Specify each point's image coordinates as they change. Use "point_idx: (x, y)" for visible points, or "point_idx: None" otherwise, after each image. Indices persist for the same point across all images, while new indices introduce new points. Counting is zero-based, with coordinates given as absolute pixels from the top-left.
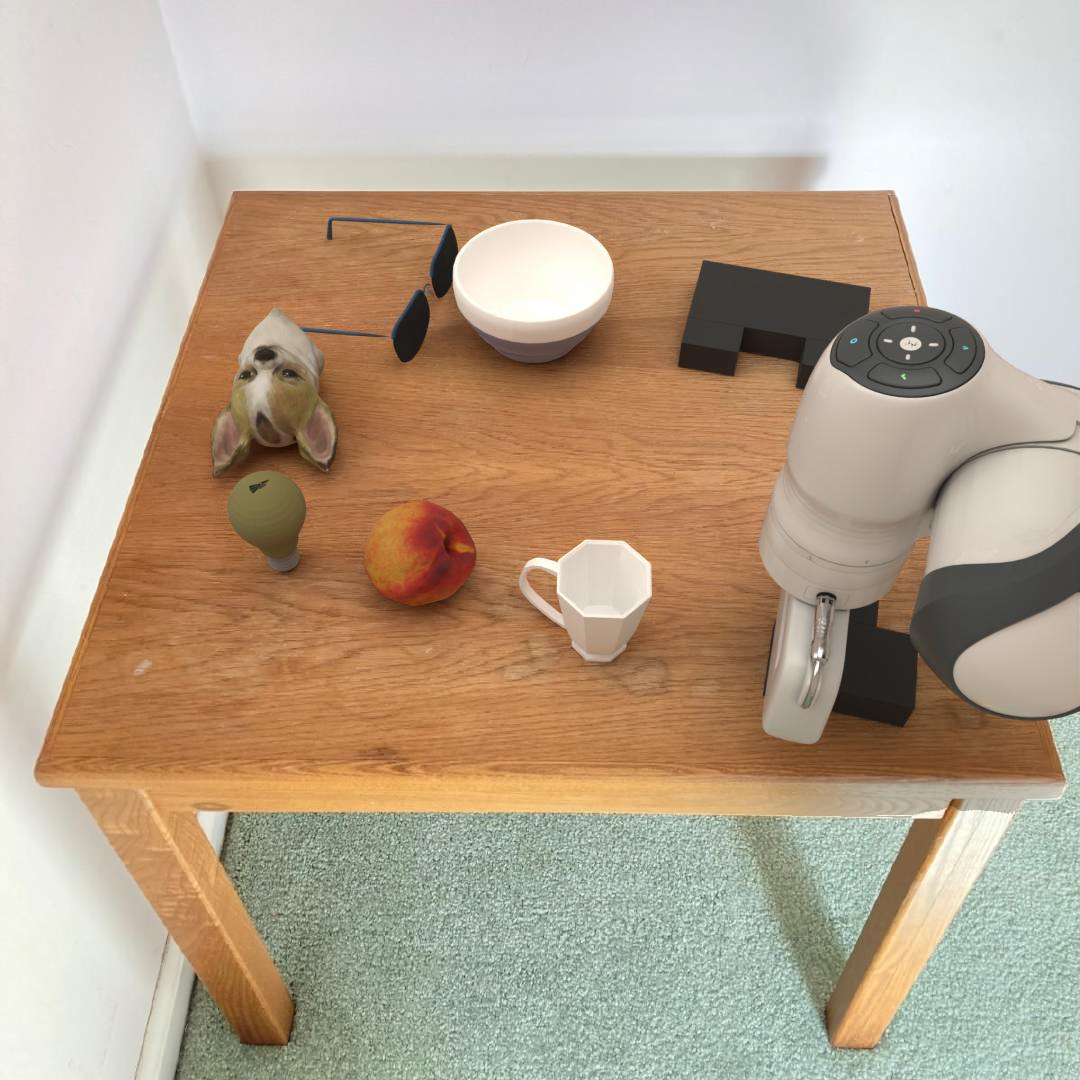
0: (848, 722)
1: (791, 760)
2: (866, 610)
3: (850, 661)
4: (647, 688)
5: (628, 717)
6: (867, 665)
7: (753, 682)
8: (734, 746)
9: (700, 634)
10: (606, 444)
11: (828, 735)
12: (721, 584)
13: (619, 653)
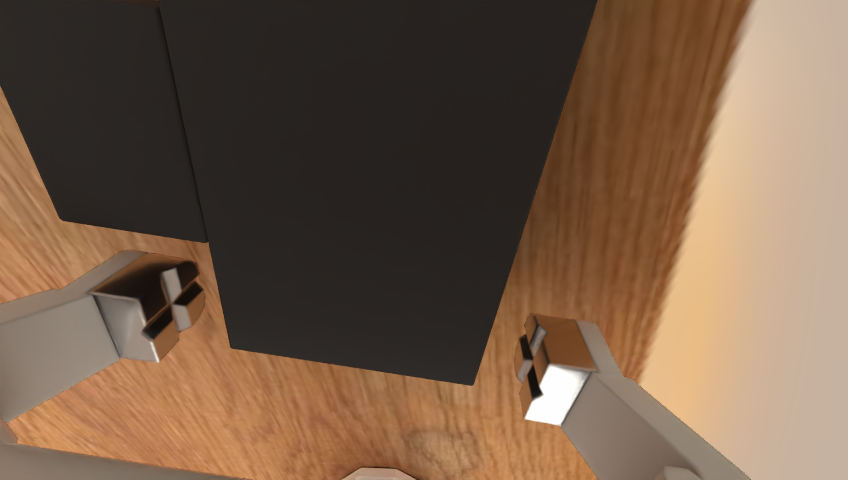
0: None
1: (645, 258)
2: (91, 57)
3: (385, 155)
4: (465, 451)
5: (519, 470)
6: (393, 78)
7: None
8: None
9: (341, 388)
10: None
11: (585, 164)
12: (213, 354)
13: (407, 477)
